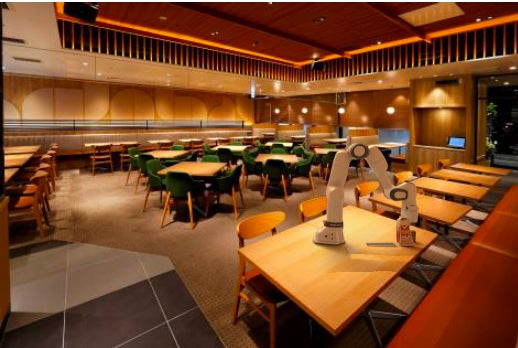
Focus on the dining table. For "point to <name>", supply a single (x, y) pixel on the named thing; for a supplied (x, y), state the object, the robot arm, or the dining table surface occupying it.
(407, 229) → the milk carton
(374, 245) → the strip
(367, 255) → the dining table surface
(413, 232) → the walnut block
